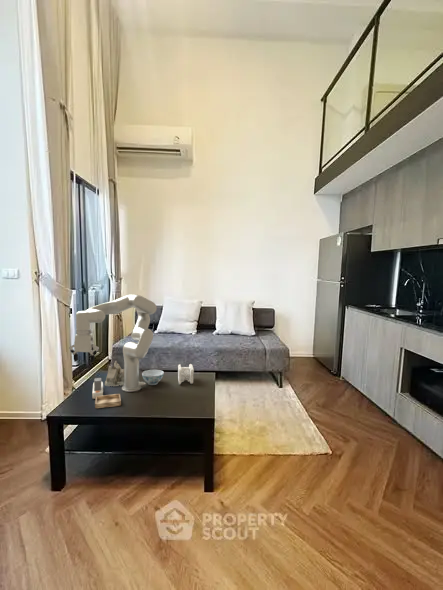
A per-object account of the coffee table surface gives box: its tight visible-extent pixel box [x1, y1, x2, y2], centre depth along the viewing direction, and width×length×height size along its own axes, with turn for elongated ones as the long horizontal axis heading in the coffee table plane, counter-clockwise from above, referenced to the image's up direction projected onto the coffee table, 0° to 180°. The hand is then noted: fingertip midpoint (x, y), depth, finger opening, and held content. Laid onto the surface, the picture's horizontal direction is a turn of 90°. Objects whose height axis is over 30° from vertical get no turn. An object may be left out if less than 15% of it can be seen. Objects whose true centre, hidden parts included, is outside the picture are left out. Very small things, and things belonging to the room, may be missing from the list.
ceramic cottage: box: [104, 360, 124, 387], centre depth 221 cm, size 16×16×15 cm
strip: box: [91, 381, 104, 400], centre depth 203 cm, size 6×20×4 cm, turn 20°
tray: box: [94, 393, 122, 409], centre depth 187 cm, size 14×12×3 cm
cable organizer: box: [177, 363, 195, 385], centre depth 227 cm, size 15×11×12 cm
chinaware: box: [141, 369, 165, 386], centre depth 222 cm, size 15×15×8 cm
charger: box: [93, 377, 102, 391], centre depth 200 cm, size 4×6×8 cm, turn 20°
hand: (84, 361), depth 184 cm, fingers open, 9 cm apart
